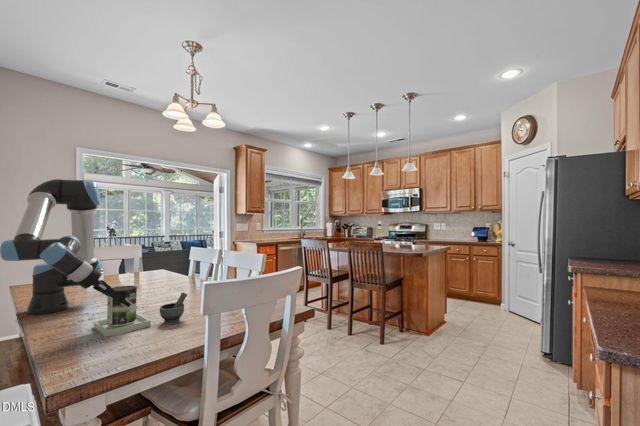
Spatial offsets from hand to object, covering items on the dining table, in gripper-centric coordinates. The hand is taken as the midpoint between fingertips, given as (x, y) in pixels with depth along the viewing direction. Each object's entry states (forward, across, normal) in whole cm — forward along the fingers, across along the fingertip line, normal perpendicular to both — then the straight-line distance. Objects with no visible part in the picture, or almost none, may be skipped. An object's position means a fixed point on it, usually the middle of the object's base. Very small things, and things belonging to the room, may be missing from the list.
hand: (130, 307), depth 129 cm
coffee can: (+2, 0, -6) cm, 6 cm away
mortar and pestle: (+15, +9, +4) cm, 18 cm away
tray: (+3, 0, -7) cm, 8 cm away
